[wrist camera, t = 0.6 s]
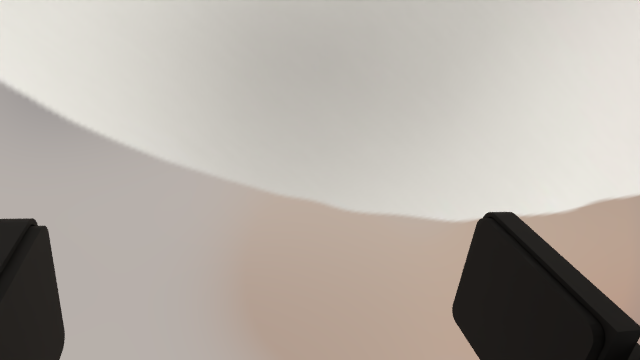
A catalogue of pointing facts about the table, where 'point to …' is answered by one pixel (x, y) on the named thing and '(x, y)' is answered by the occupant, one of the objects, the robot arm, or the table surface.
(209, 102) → the table surface
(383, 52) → the table surface
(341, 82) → the table surface
